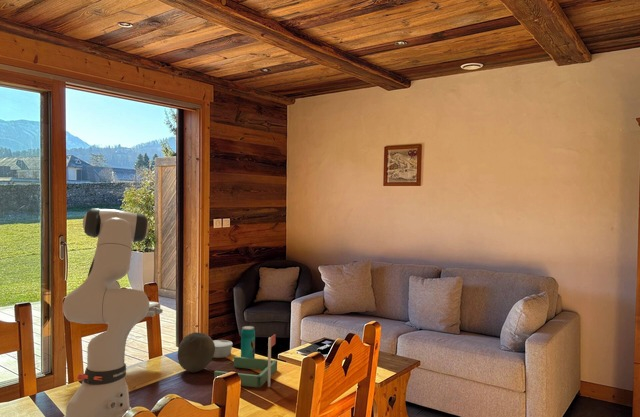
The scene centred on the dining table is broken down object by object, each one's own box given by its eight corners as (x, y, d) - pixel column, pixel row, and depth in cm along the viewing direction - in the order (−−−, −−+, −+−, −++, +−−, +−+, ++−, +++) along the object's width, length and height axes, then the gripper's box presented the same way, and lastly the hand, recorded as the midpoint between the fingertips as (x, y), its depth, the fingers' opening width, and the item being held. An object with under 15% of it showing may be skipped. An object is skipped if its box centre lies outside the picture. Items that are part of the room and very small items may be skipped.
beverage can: (251, 365, 207) (252, 329, 207) (238, 364, 209) (239, 328, 208) (256, 361, 213) (257, 326, 213) (243, 360, 214) (244, 325, 214)
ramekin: (235, 352, 226) (236, 340, 226) (227, 359, 215) (227, 347, 215) (212, 350, 228) (212, 338, 228) (202, 357, 217) (202, 345, 217)
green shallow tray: (268, 388, 183) (269, 339, 182) (214, 382, 188) (214, 334, 187) (284, 371, 201) (285, 326, 201) (234, 366, 206) (235, 322, 206)
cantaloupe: (200, 379, 191) (201, 339, 191) (169, 373, 196) (170, 335, 196) (220, 367, 204) (221, 331, 204) (191, 363, 209) (192, 327, 209)
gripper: (112, 307, 197) (143, 310, 193) (142, 298, 217) (171, 300, 213) (111, 323, 197) (143, 326, 194) (142, 312, 217) (171, 315, 213)
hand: (158, 312), depth 204 cm, fingers open, 4 cm apart
